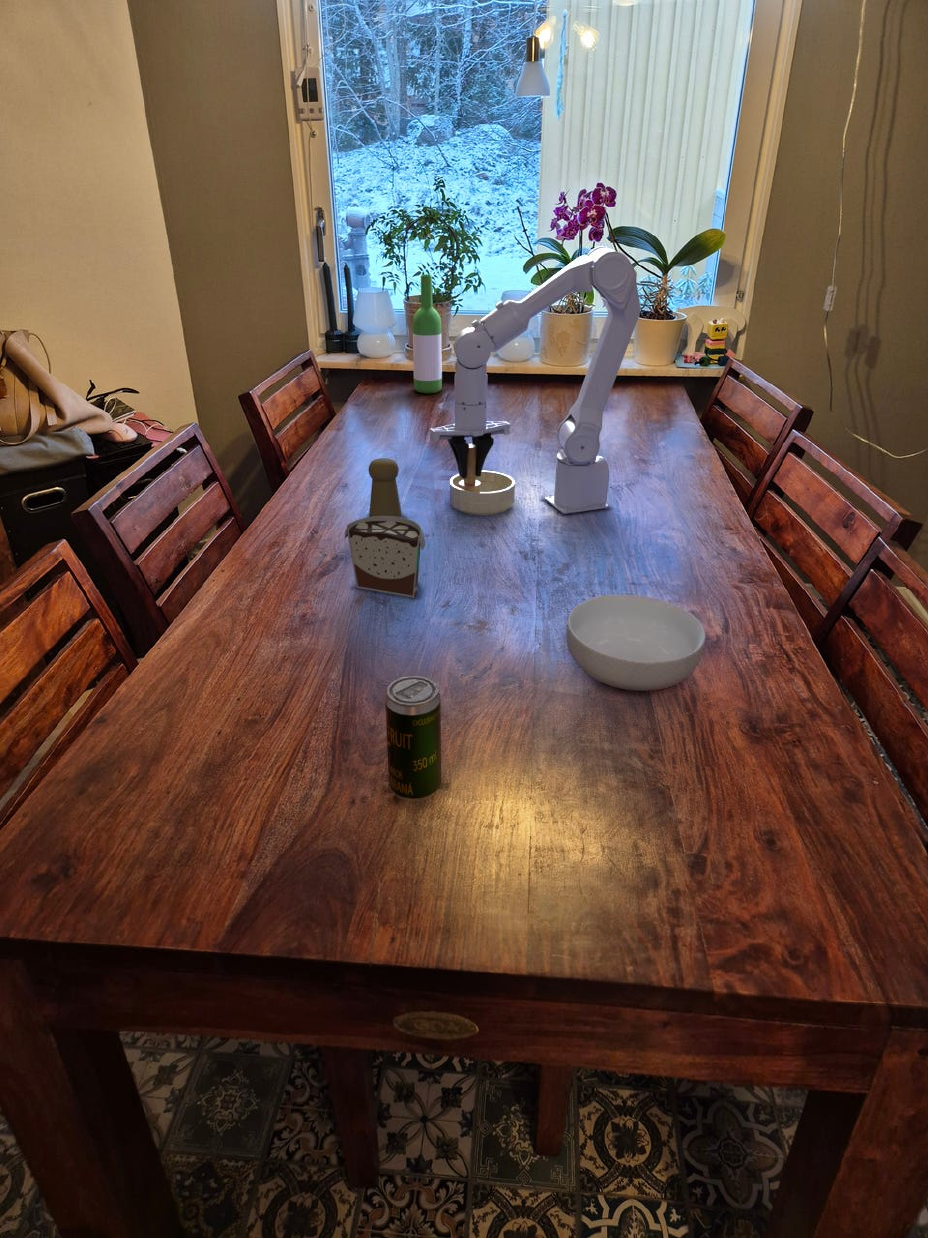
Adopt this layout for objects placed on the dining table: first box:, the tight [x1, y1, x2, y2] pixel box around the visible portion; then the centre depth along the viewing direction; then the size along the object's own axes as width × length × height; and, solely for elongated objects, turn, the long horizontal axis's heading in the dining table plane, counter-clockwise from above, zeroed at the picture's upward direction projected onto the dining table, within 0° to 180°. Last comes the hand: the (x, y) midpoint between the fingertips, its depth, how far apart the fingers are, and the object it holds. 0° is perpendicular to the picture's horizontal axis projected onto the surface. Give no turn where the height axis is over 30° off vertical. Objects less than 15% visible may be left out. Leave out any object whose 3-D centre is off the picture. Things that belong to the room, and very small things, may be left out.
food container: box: [344, 516, 426, 599], centre depth 122 cm, size 12×6×10 cm, turn 71°
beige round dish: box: [449, 470, 516, 516], centre depth 152 cm, size 12×12×4 cm
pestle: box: [459, 443, 481, 492], centre depth 149 cm, size 4×4×9 cm
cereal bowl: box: [566, 593, 707, 692], centre depth 101 cm, size 17×17×7 cm
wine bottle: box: [412, 273, 443, 394], centre depth 220 cm, size 8×8×30 cm
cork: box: [368, 457, 403, 518], centre depth 143 cm, size 6×6×11 cm
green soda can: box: [384, 675, 442, 803], centre depth 81 cm, size 5×5×12 cm
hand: (469, 475), depth 149 cm, fingers closed on pestle, 2 cm apart
